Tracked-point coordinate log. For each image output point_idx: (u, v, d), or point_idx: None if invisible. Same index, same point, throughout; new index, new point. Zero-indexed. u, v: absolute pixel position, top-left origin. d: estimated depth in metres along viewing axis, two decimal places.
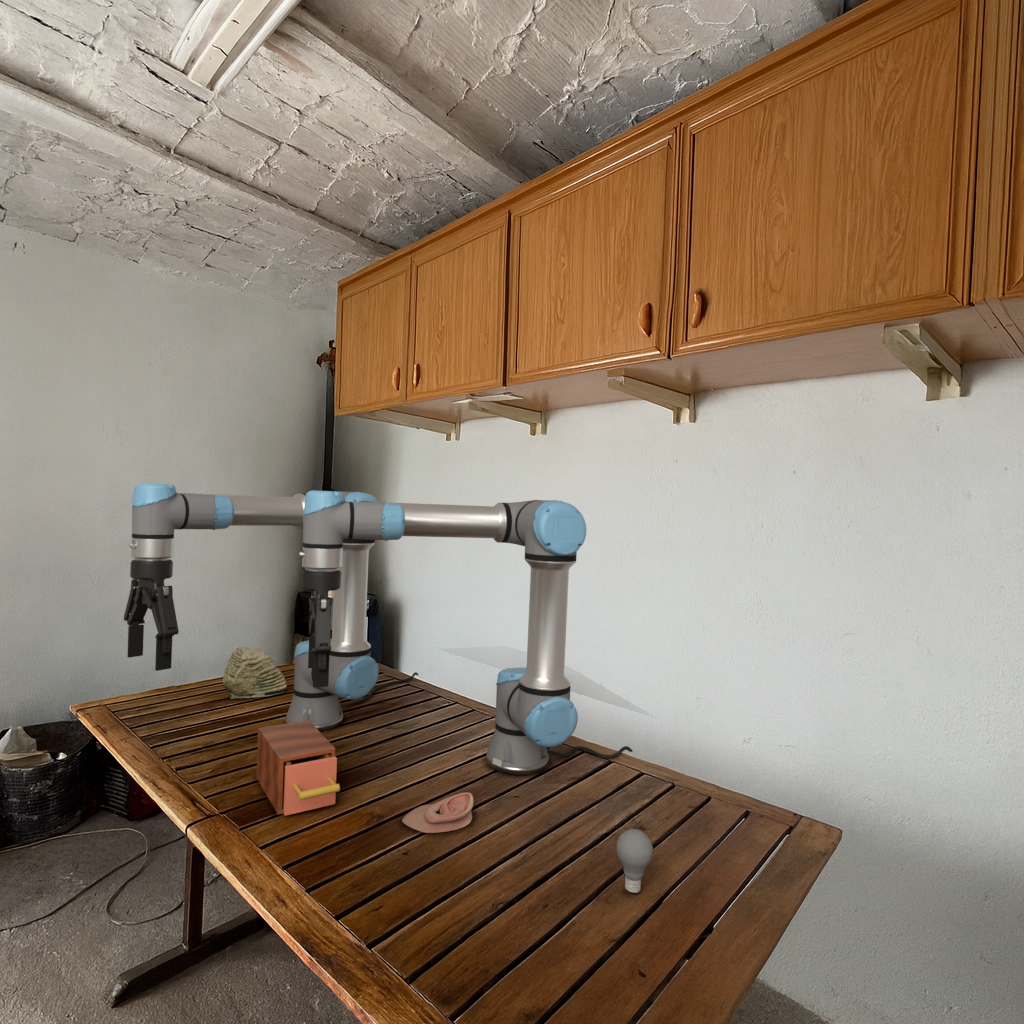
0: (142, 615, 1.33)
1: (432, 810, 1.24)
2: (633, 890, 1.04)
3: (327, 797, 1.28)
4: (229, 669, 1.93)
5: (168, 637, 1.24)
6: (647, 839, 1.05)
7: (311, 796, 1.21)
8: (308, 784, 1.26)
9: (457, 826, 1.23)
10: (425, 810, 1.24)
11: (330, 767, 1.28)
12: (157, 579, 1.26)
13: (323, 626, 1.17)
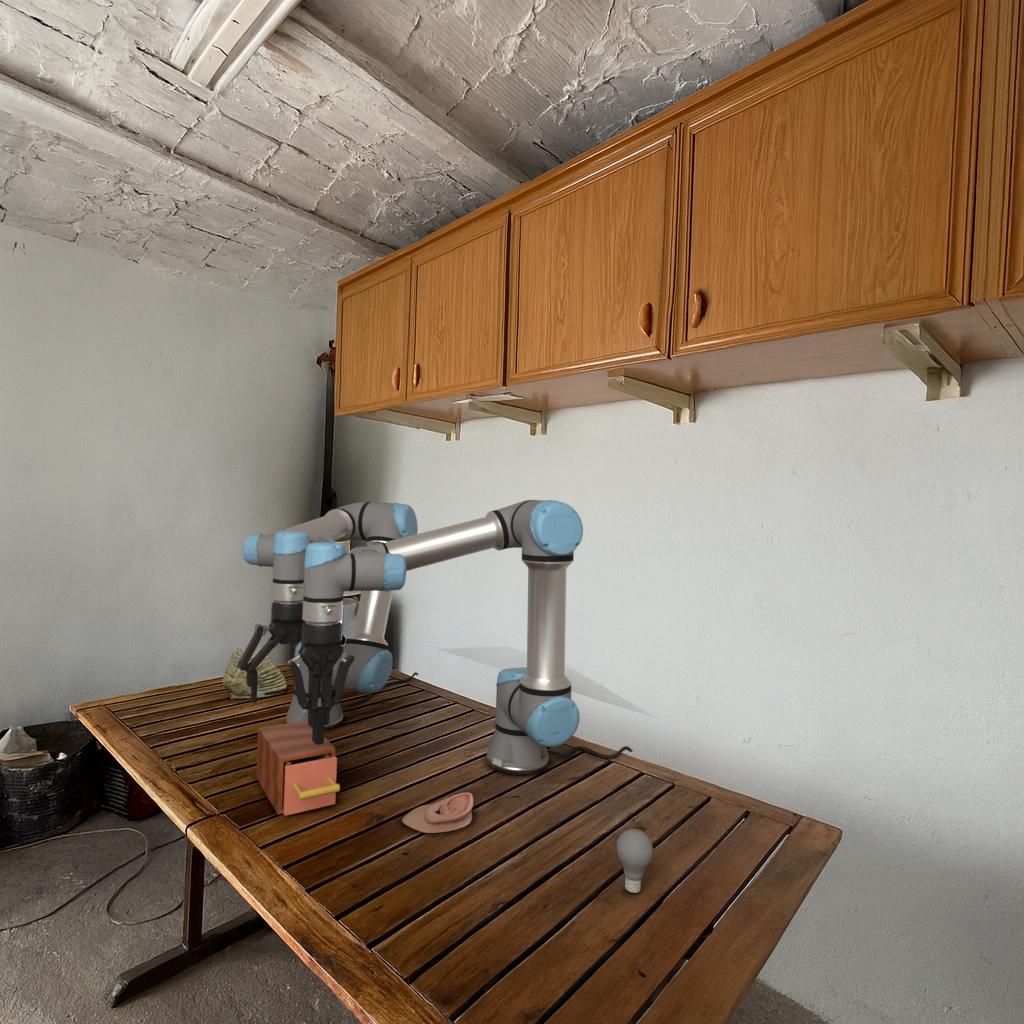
0: None
1: (432, 810, 1.24)
2: (633, 890, 1.04)
3: (327, 797, 1.28)
4: (229, 669, 1.93)
5: None
6: (647, 839, 1.05)
7: (311, 796, 1.21)
8: (308, 784, 1.26)
9: (457, 826, 1.23)
10: (425, 810, 1.24)
11: (330, 767, 1.28)
12: None
13: None
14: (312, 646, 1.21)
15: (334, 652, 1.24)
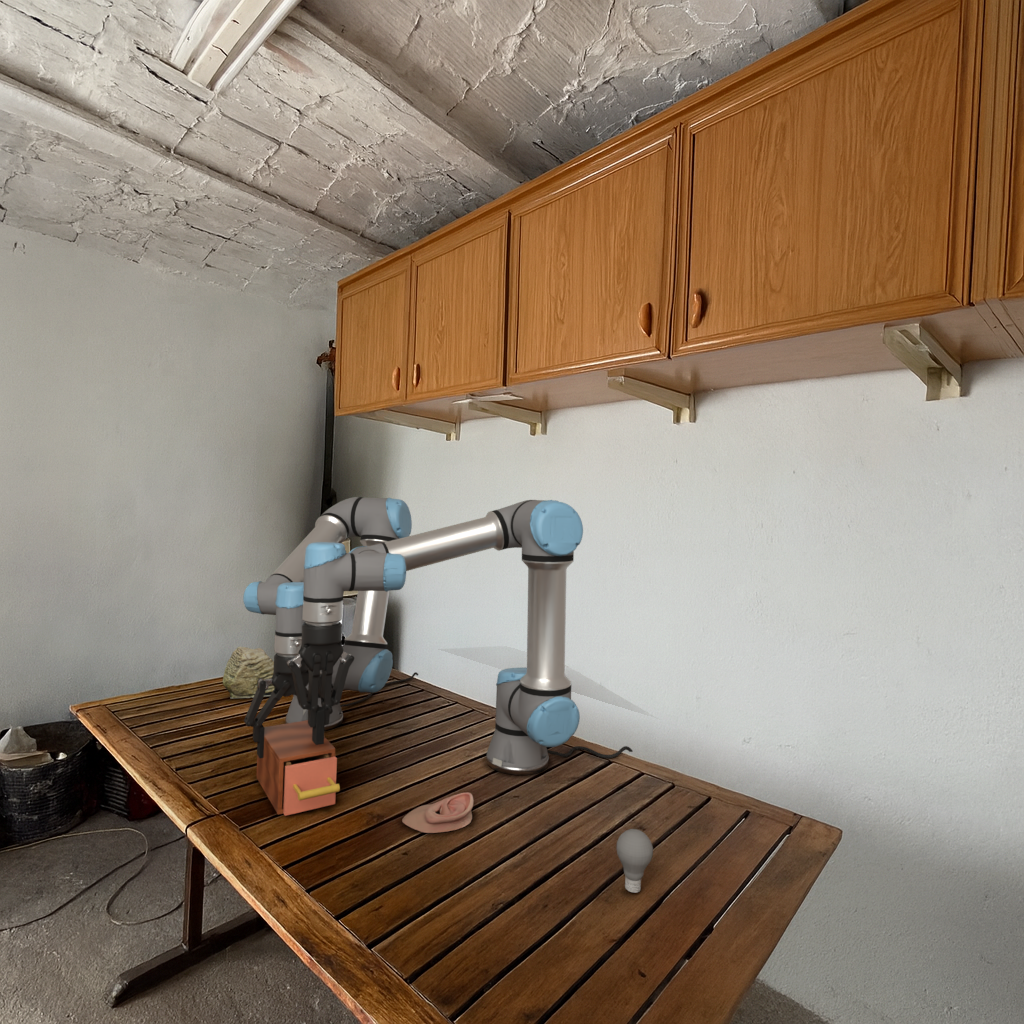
0: None
1: (432, 810, 1.24)
2: (633, 890, 1.04)
3: (327, 797, 1.28)
4: (229, 669, 1.93)
5: None
6: (647, 839, 1.05)
7: (311, 796, 1.21)
8: (308, 784, 1.26)
9: (457, 826, 1.23)
10: (425, 810, 1.24)
11: (330, 767, 1.28)
12: None
13: None
14: (312, 646, 1.21)
15: (334, 652, 1.24)
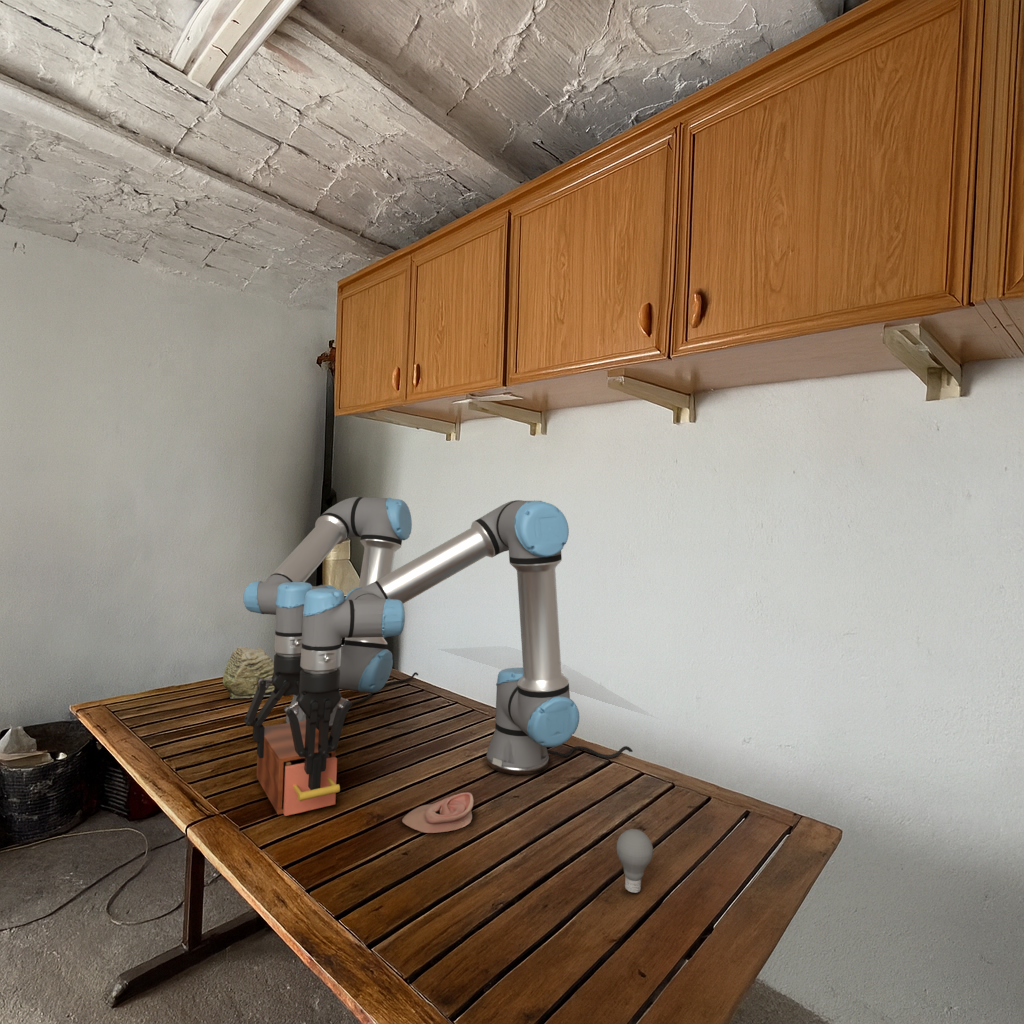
0: None
1: (432, 810, 1.24)
2: (633, 890, 1.04)
3: (327, 797, 1.28)
4: (229, 669, 1.93)
5: None
6: (647, 839, 1.05)
7: (311, 797, 1.21)
8: None
9: (457, 826, 1.23)
10: (425, 810, 1.24)
11: (330, 767, 1.28)
12: None
13: None
14: (310, 693, 1.21)
15: (332, 699, 1.24)
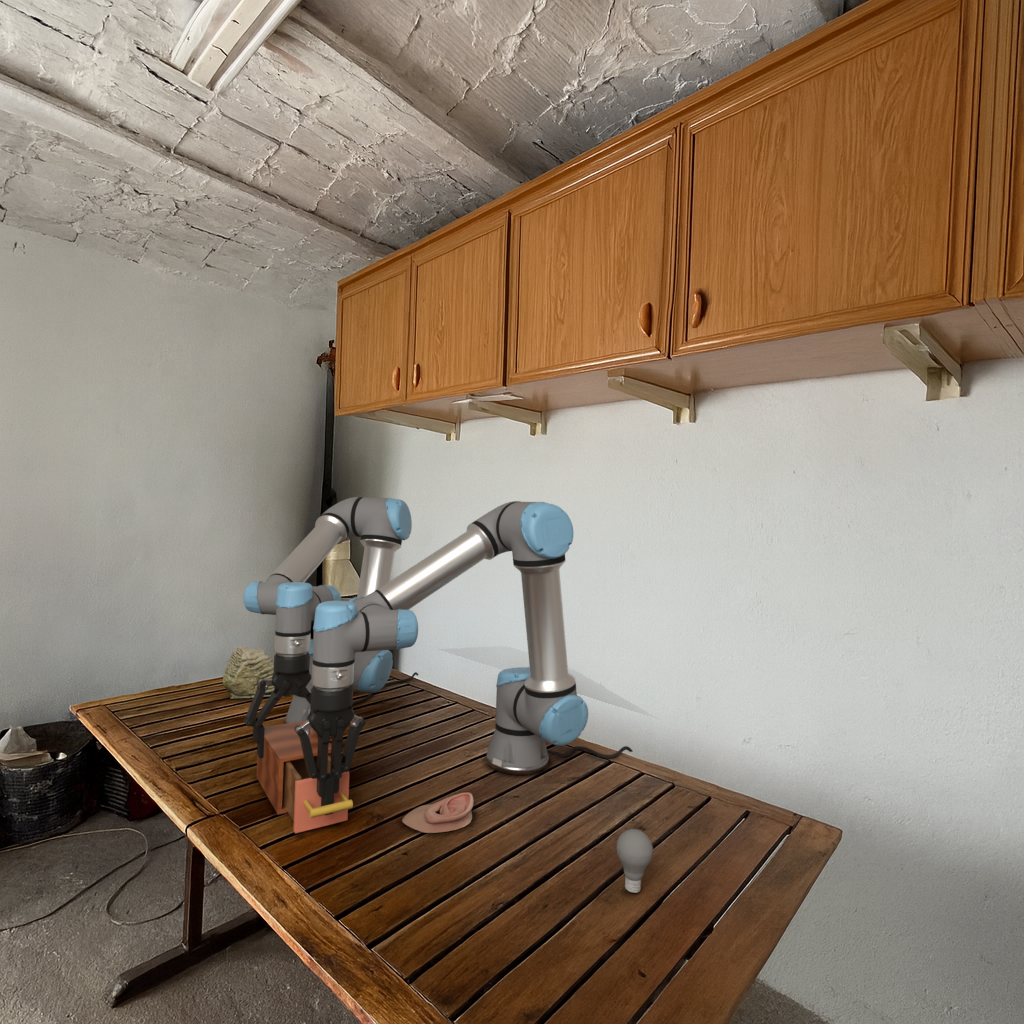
0: None
1: (432, 810, 1.24)
2: (633, 890, 1.04)
3: (339, 813, 1.22)
4: (229, 669, 1.93)
5: None
6: (647, 839, 1.05)
7: (323, 813, 1.15)
8: (319, 800, 1.20)
9: (457, 826, 1.23)
10: (425, 810, 1.24)
11: (342, 782, 1.22)
12: None
13: None
14: (322, 712, 1.15)
15: (344, 717, 1.18)
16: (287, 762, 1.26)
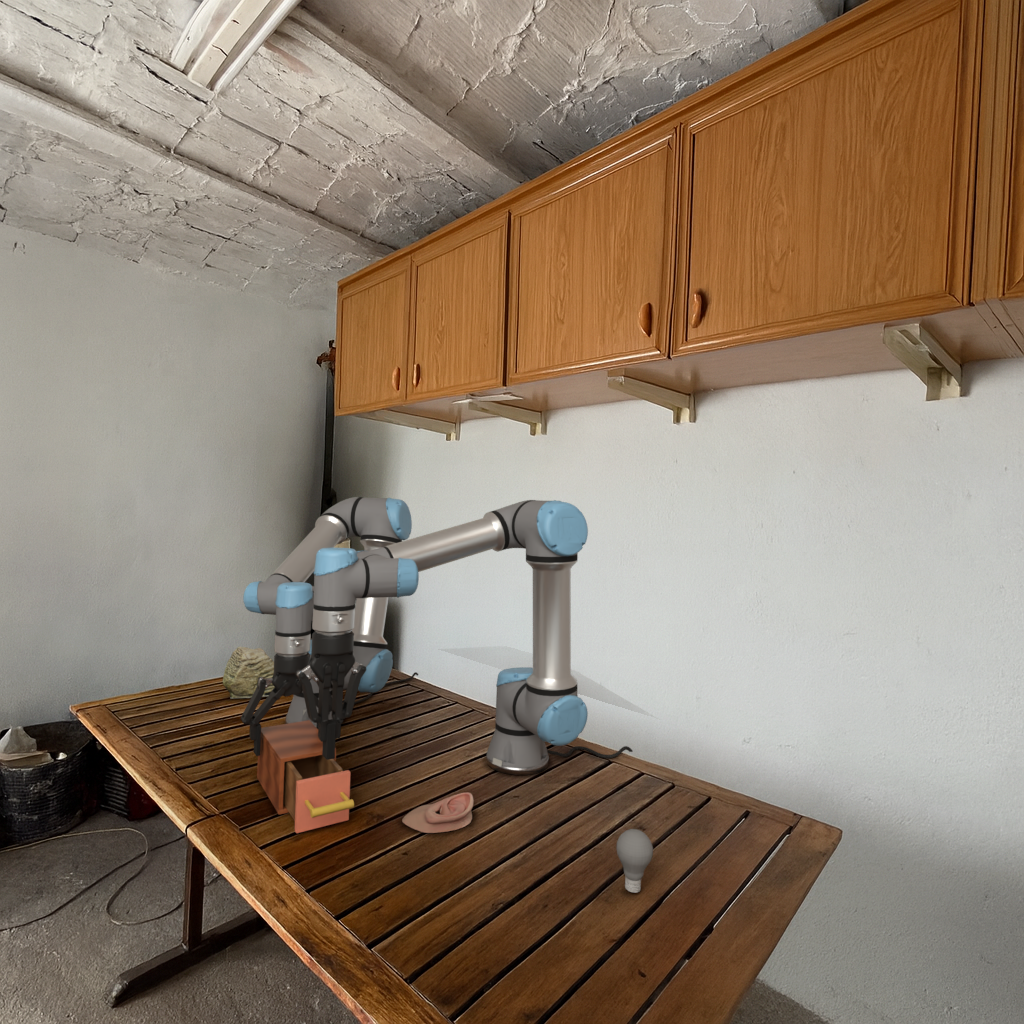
0: None
1: (432, 810, 1.24)
2: (633, 890, 1.04)
3: (340, 813, 1.22)
4: (229, 669, 1.93)
5: None
6: (647, 839, 1.05)
7: (324, 813, 1.15)
8: (320, 800, 1.20)
9: (457, 826, 1.23)
10: (425, 810, 1.24)
11: (343, 781, 1.22)
12: None
13: None
14: (323, 656, 1.16)
15: (345, 662, 1.18)
16: (288, 762, 1.26)
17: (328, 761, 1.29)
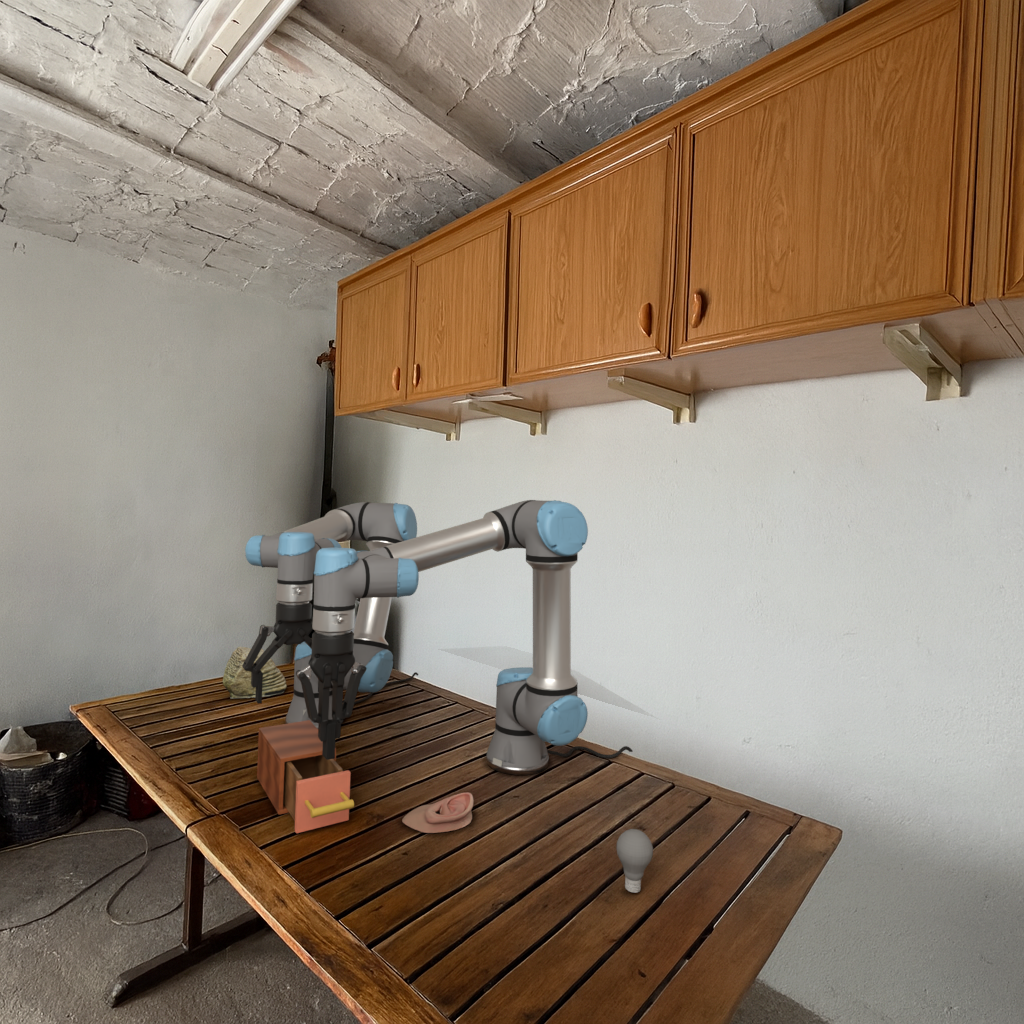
0: None
1: (432, 810, 1.24)
2: (633, 890, 1.04)
3: (340, 813, 1.22)
4: (229, 669, 1.93)
5: None
6: (647, 839, 1.05)
7: (325, 813, 1.15)
8: (320, 800, 1.20)
9: (457, 826, 1.23)
10: (425, 810, 1.24)
11: (343, 781, 1.22)
12: None
13: None
14: (323, 656, 1.16)
15: (345, 662, 1.18)
16: (288, 762, 1.26)
17: (328, 761, 1.29)
